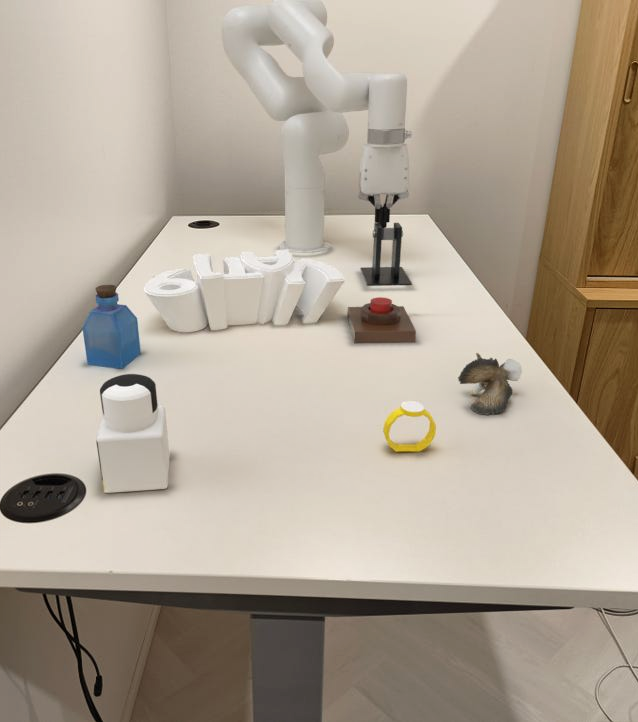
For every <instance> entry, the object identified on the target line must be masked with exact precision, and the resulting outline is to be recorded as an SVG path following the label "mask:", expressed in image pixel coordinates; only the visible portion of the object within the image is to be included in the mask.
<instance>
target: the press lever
mask: <svg viewBox="0 0 638 722" xmlns="http://www.w3.org/2000/svg"><path fill="white" fill-rule="evenodd" d="M393 240H394V227H383V226H382V241H393Z"/></svg>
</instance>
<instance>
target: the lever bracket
mask: <svg viewBox="0 0 638 722" xmlns="http://www.w3.org/2000/svg"><path fill="white" fill-rule="evenodd" d="M373 224H374V225H373V230H372V238H373V246H372V263H371V264H372V265H371V266H370V267H366V266H365V267H360V272H361V274H362V277H363V278H364V281H365V284H366V286H367V287H372V286H373V287H382V286H383V287H385V286H391V287H392V286H412V285H413V284H412V281H411V280H410V278H409V276H408V274H407V273H406V271H405V269H404V268H403V267H402V266H401V253H402V252H401V251H402V240H403V239H402V238H403V236H404V231H403V226H402V225H401V223H400V222H393V228H394V240H392V248H391V263H390V265H391V266H381V258H382V241H383V240H382V227H381V225H380V224H379V223H375V222H374V223H373Z"/></svg>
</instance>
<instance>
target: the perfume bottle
mask: <svg viewBox="0 0 638 722" xmlns="http://www.w3.org/2000/svg"><path fill="white" fill-rule="evenodd" d="M95 292H96V295H95V303H96V304H97V307H95V308H93V309H92V310H90V311H89V313H88V315H87V318H86V320H85V322H84V324H83V326H82V328H81V329H82V334H83V341H84V349H85V356H86V363H87V365H89V366H96V367H97V366H98V367H103V368H104V367H105V368H111V369H119V370H123V369H124V368H125V367H126V366H128V365H129V364H130V363H131V362H132V361H134V360H135V359H136V358H138V357H139V356H140V355H141V354H142V352H141V351H142V350H141V342H140V332H139V323H138V317H137V316H136V315H135V314H134V313H133V312H132V310H131V309H130V308H129V307H128V306H127V304H118V302H119V300H120V298H119V293H118V292H117V286H116V284H115V285H114V284H102V285H98V286H96V287H95Z"/></svg>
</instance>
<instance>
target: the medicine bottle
mask: <svg viewBox="0 0 638 722" xmlns="http://www.w3.org/2000/svg"><path fill="white" fill-rule="evenodd" d="M99 397H100V403H101V411H102V415H101V420H100V423H99V427H98V431H97V435H96V439H95V442H96V448H97V455H98V456H97V457H98V463H99V469H100V476H101V477H100V478H101V484H102V490H103V492H104V493H105V494H110V493H111V494H112V493H125V492H139V491H153V490H154V491H155V490H156V491H157V490H165V489H167V488H168V485H169V472H170V471H169V469H170V444H169V433H168V425H167V414H166V406H165V405H163V404H158V395H157V385H156V382H155V380H153V379H152V378H151V377H149V376H147V375H143V374H137V373H126V374H125V373H124V374H121V375H118V376H114V377H111V378H110V379H107V380H106V381H105V382H103V384H102V385H101V386H100V388H99Z"/></svg>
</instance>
